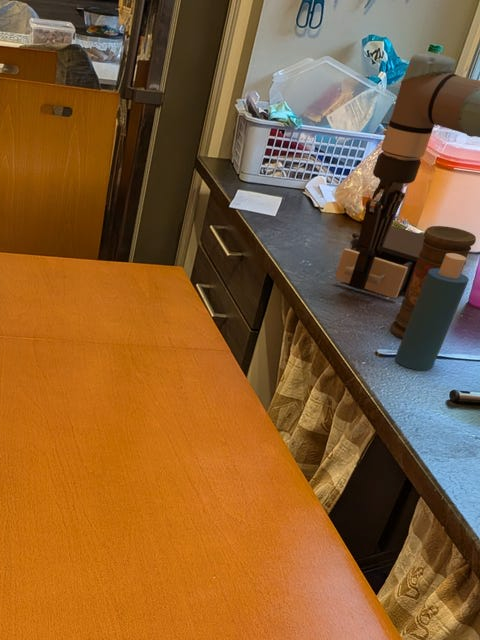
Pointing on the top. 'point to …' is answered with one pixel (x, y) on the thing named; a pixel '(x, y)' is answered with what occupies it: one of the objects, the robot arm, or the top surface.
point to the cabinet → (401, 246)
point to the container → (431, 266)
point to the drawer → (378, 272)
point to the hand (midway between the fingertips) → (356, 286)
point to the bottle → (433, 314)
